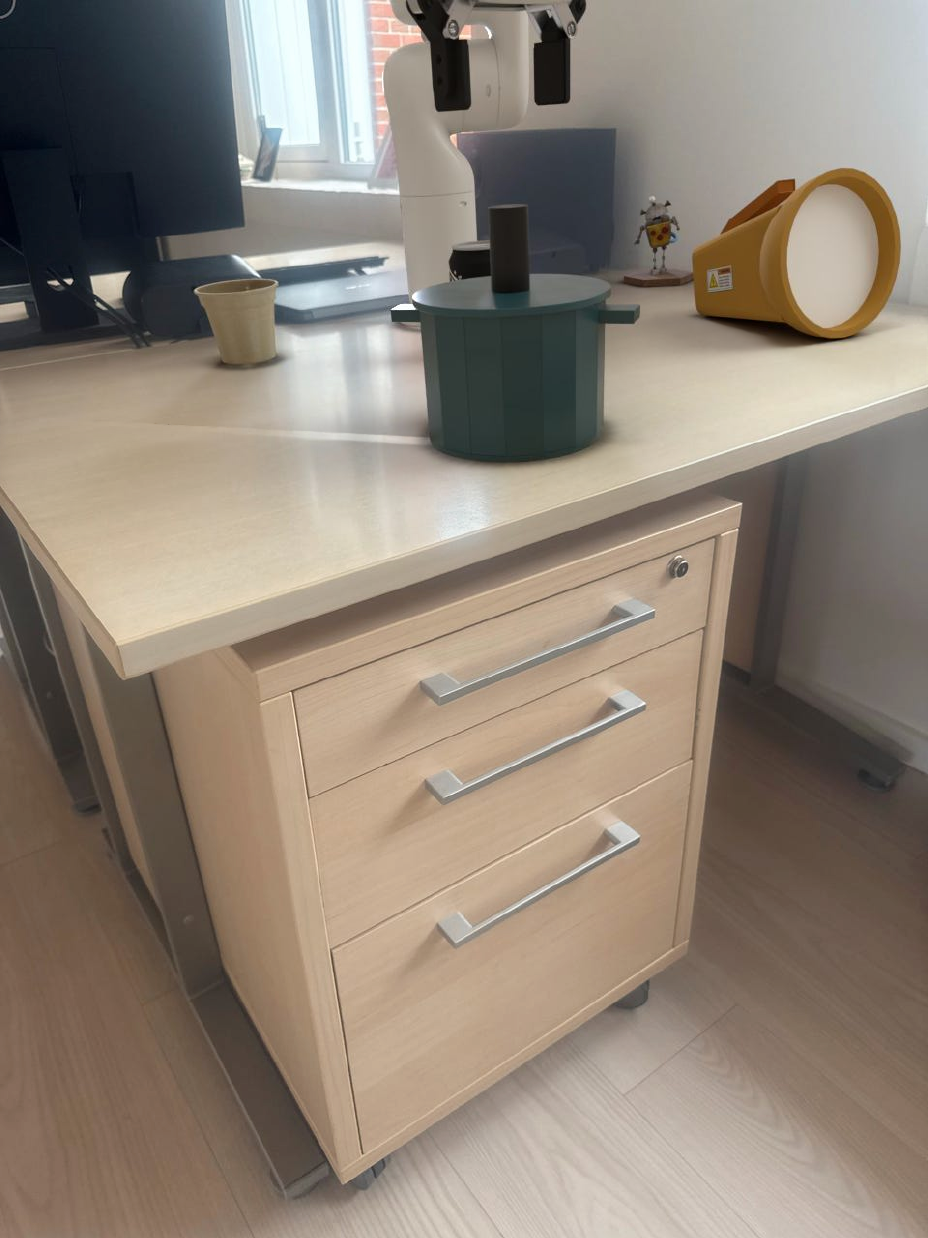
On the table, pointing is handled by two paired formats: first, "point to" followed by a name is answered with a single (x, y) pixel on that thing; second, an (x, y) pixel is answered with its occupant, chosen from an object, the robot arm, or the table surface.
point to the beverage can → (470, 260)
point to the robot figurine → (657, 236)
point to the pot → (515, 381)
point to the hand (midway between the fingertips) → (504, 107)
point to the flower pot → (241, 318)
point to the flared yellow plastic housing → (804, 256)
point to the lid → (510, 279)
